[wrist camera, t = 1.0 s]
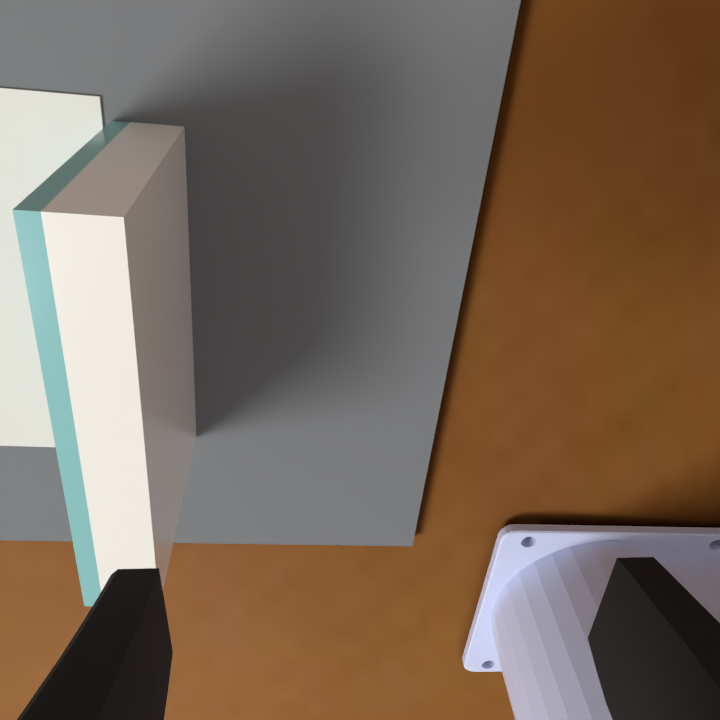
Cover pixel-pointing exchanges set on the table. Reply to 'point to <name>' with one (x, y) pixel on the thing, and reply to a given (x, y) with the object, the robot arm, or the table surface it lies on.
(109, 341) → the tile
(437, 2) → the mat
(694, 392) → the table surface
